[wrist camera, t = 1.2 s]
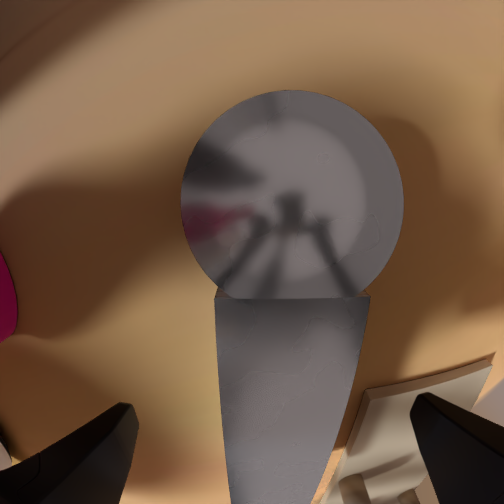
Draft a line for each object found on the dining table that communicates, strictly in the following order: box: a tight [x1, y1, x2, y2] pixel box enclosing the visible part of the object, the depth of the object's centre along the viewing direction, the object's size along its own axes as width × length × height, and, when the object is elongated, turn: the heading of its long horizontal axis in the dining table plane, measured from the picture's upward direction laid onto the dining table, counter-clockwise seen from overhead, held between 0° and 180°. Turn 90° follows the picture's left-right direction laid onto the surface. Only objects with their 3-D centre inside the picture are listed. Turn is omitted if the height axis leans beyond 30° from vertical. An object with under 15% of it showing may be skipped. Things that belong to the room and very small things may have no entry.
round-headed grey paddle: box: [181, 90, 404, 504], centre depth 9 cm, size 16×5×4 cm, turn 0°
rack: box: [319, 359, 493, 504], centre depth 11 cm, size 19×9×4 cm, turn 0°
